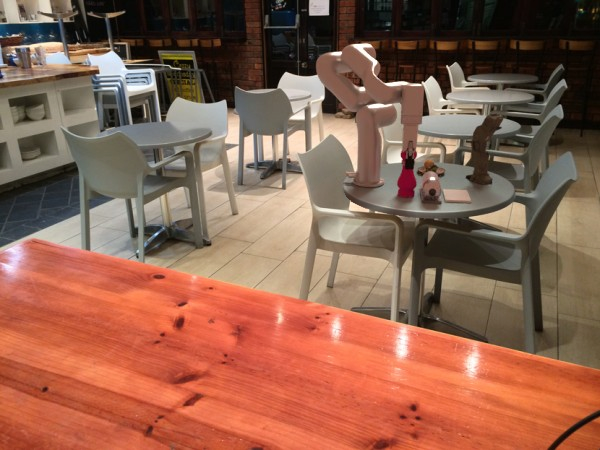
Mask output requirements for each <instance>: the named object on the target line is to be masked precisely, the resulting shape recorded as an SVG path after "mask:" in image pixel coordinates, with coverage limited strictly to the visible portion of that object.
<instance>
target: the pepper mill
mask: <svg viewBox="0 0 600 450" xmlns="http://www.w3.org/2000/svg"><path fill="white" fill-rule="evenodd" d="M417 157H418V151H417V150H416V152H414V166H415V164H416V159H417ZM400 158H401V165H402V166H401V172H400V175H399V177H398V179H397V181H396V186H397V188H398V190H397V196H399V197H401V198H413V197H414V196H415V193H416V192H415V188H416V187H417V184H418V183H417V179H416V176H415V172H414V171H415V170H414V169H413V170H411V169H405V158H406V151H404V152H403V151H402V150H401V151H400Z"/></svg>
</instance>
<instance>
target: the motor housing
mask: <svg viewBox="0 0 600 450" xmlns="http://www.w3.org/2000/svg"><path fill="white" fill-rule="evenodd" d="M421 185H422V186H421ZM421 185H420V186H419V191H420V201H421V203H422V204H423V203H424V204H440V205H441V204H443V203H442V201H443V200H442V197H441V195H442V194H443V189H442V186H441V183H440V179H439V177H438V175H437V174H436V173H435V172H432V171H428V172H426V173H424V174H423V176H422V175H421Z"/></svg>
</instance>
